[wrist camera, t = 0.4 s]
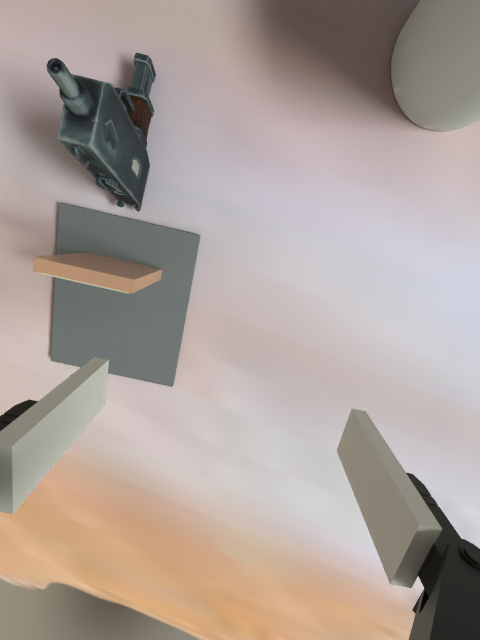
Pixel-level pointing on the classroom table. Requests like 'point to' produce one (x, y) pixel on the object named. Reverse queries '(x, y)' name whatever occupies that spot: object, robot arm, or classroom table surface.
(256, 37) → the classroom table surface
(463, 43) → the utensil holder
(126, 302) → the mat
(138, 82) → the gun
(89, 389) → the robot arm
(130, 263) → the tile
